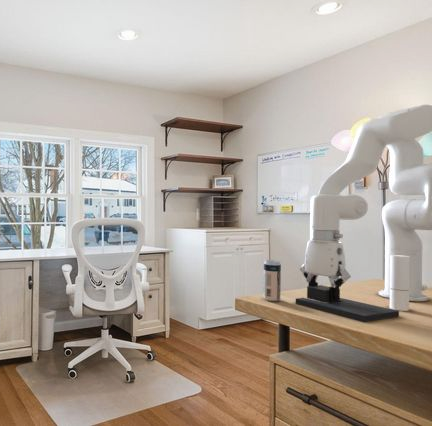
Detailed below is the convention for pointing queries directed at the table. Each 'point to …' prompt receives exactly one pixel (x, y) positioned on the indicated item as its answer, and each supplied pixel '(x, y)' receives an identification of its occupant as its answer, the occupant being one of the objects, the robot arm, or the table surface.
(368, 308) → the dark blue flat slab
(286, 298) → the table surface
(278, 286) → the beer can
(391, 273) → the tube
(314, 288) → the black block
